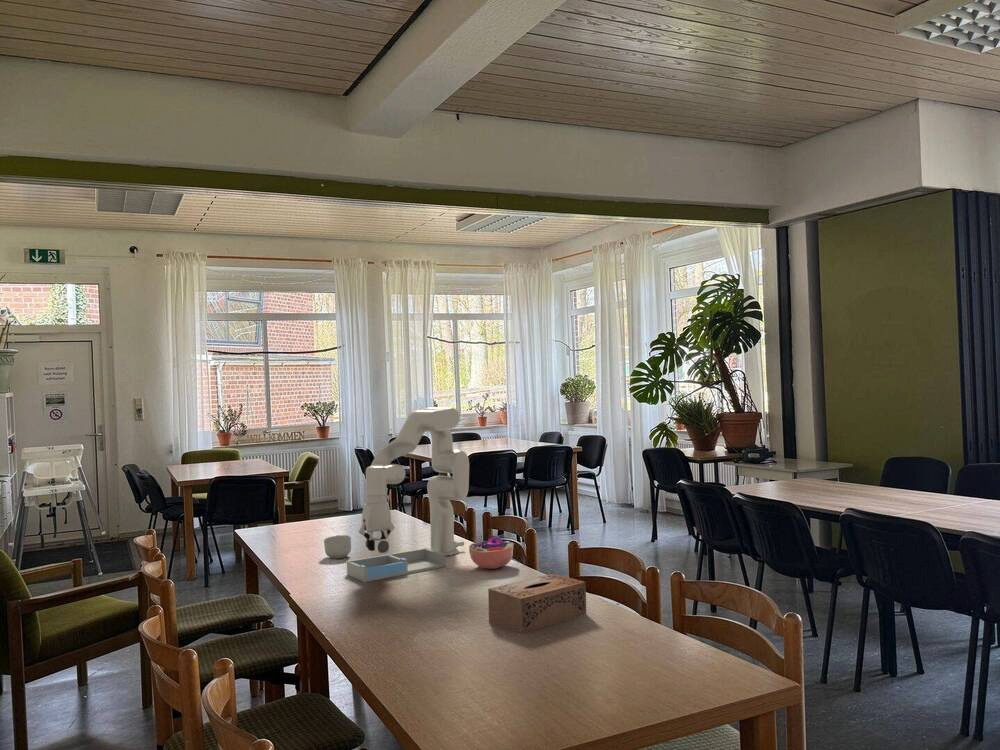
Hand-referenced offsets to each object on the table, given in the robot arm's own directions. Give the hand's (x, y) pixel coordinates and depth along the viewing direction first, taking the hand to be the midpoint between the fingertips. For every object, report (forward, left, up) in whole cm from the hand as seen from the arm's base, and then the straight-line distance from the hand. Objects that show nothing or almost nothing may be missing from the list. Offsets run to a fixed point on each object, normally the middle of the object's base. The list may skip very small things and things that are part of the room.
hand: (377, 549), depth 293 cm
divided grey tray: (-8, -1, -9) cm, 13 cm away
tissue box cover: (-11, +79, -10) cm, 81 cm away
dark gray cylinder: (0, 0, +2) cm, 2 cm away
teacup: (-2, -39, -10) cm, 40 cm away
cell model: (-38, +19, -10) cm, 44 cm away
